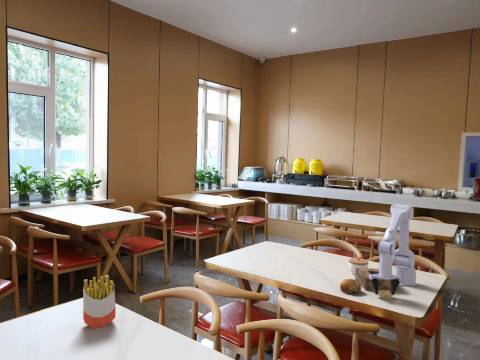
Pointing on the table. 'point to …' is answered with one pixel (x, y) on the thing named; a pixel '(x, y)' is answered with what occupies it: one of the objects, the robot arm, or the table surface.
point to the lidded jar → (357, 264)
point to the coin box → (366, 283)
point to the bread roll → (350, 287)
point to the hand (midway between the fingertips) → (384, 294)
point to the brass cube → (385, 294)
